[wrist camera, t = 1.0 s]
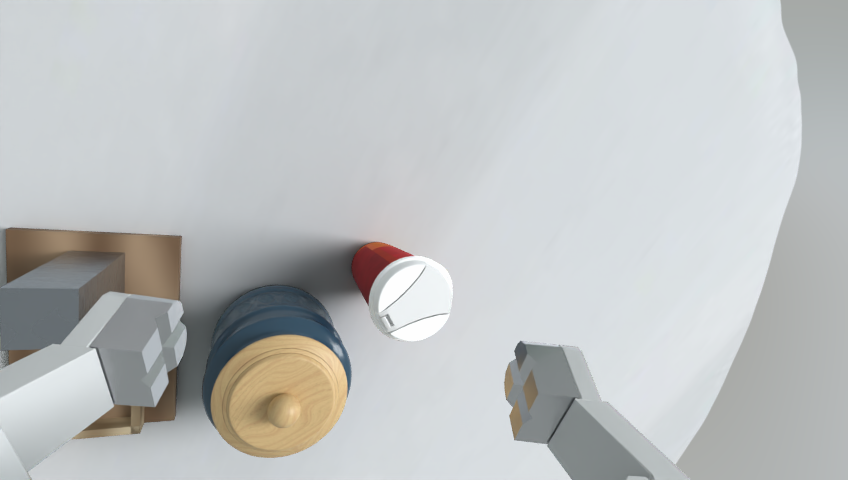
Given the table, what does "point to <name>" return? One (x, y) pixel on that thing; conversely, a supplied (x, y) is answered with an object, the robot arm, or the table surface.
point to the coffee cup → (402, 291)
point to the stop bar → (56, 297)
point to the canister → (275, 373)
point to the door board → (144, 275)
